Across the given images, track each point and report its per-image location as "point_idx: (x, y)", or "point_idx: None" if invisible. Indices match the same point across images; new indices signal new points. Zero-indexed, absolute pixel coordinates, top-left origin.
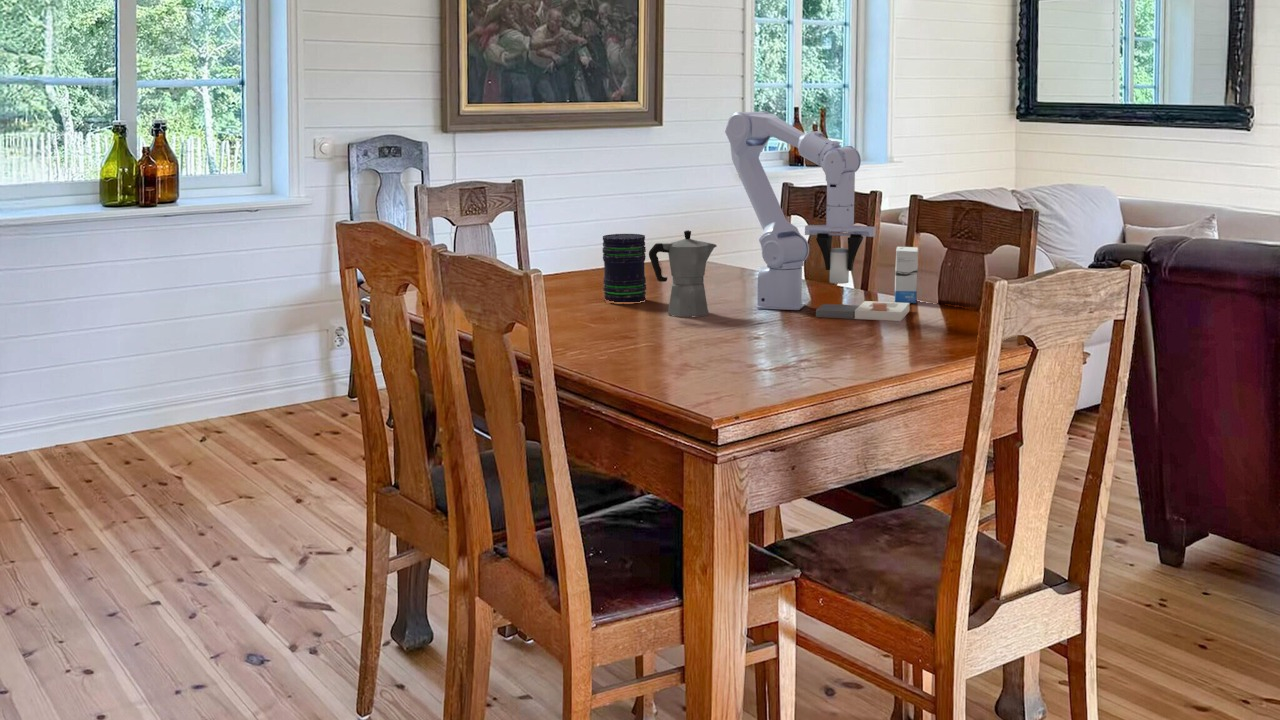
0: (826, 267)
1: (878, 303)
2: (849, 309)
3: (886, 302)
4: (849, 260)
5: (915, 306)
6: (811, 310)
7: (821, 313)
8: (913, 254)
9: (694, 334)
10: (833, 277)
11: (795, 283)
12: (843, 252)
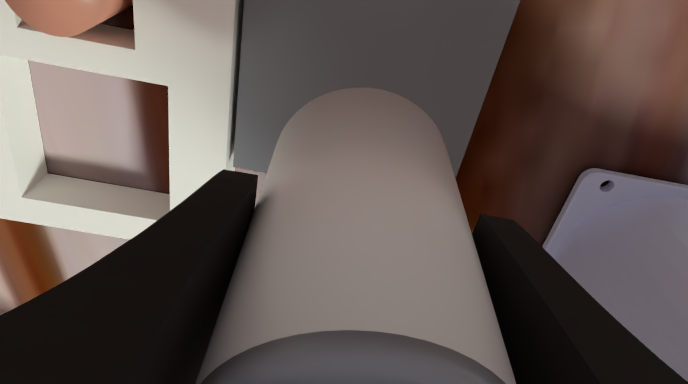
0: (520, 231)
1: (64, 7)
2: (287, 17)
3: (97, 220)
4: (192, 226)
5: (21, 297)
6: (505, 189)
7: None
8: None
9: None
10: (421, 128)
11: (663, 310)
12: (271, 343)
